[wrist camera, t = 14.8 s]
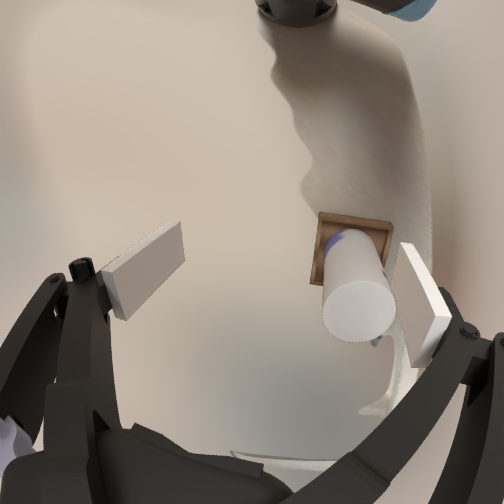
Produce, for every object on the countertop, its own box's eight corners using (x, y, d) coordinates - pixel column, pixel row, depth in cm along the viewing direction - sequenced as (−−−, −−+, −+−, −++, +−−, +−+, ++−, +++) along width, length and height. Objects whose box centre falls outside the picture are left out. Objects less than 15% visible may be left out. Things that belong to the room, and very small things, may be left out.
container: (376, 273, 51) (394, 339, 33) (327, 278, 54) (325, 346, 36) (373, 225, 47) (397, 277, 29) (321, 231, 50) (317, 286, 33)
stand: (319, 211, 50) (319, 215, 48) (390, 222, 47) (393, 226, 45) (310, 278, 56) (309, 284, 53) (375, 287, 53) (377, 293, 50)
